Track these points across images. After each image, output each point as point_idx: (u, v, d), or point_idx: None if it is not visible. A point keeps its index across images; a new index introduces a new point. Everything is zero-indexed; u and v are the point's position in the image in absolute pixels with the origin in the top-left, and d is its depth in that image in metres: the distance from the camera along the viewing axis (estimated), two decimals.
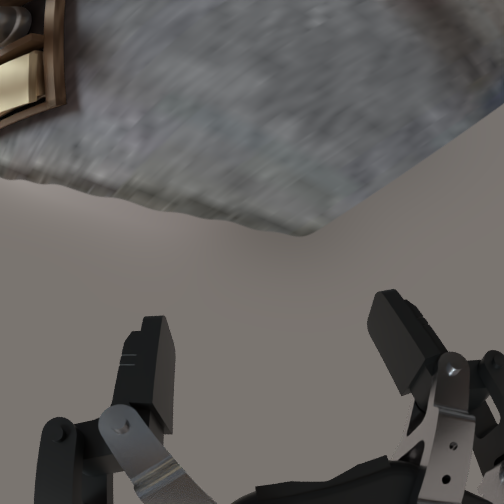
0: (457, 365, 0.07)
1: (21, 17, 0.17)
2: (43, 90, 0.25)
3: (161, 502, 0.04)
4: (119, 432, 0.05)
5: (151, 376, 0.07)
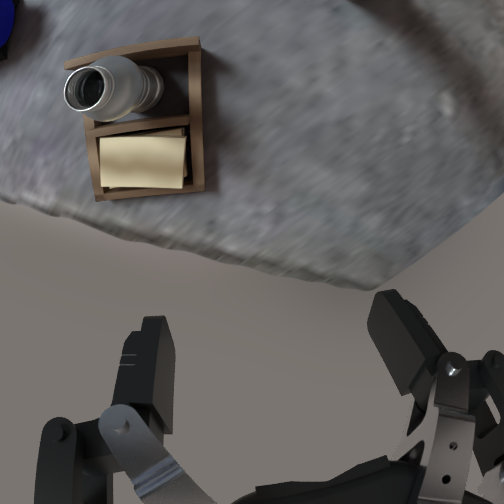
0: (457, 365, 0.07)
1: (160, 86, 0.30)
2: (186, 170, 0.38)
3: (161, 502, 0.04)
4: (119, 432, 0.05)
5: (151, 376, 0.07)
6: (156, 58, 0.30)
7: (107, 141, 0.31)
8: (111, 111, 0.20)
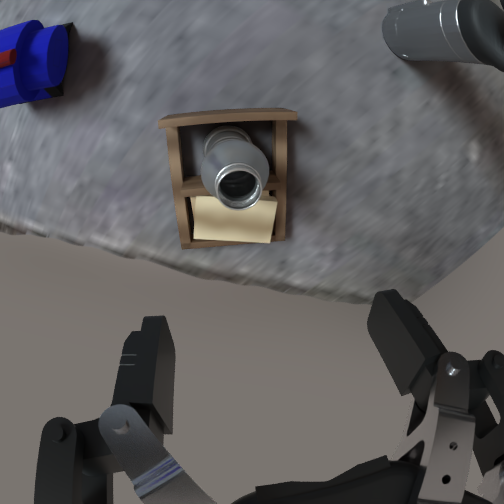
0: (457, 365, 0.07)
1: None
2: None
3: (161, 502, 0.04)
4: (119, 432, 0.05)
5: (151, 376, 0.07)
6: None
7: (203, 199, 0.38)
8: None
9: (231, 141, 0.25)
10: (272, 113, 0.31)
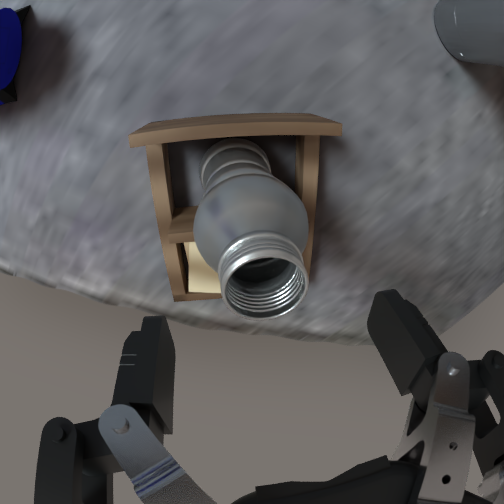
0: (457, 365, 0.07)
1: None
2: None
3: (161, 502, 0.04)
4: (119, 432, 0.05)
5: (151, 376, 0.07)
6: None
7: None
8: (270, 278, 0.16)
9: (246, 179, 0.15)
10: (305, 124, 0.20)
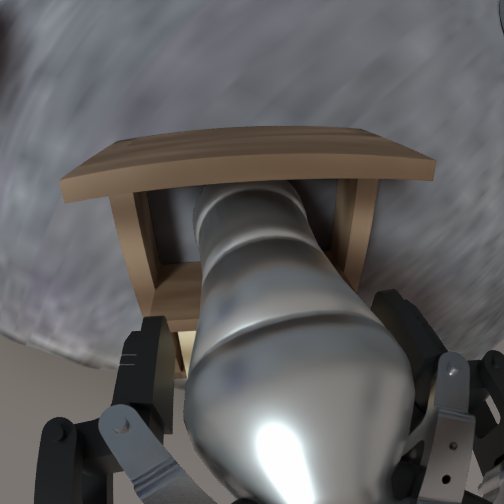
0: (457, 365, 0.07)
1: None
2: None
3: (161, 502, 0.04)
4: (119, 432, 0.05)
5: (151, 376, 0.07)
6: None
7: None
8: None
9: (312, 355, 0.05)
10: (385, 160, 0.11)
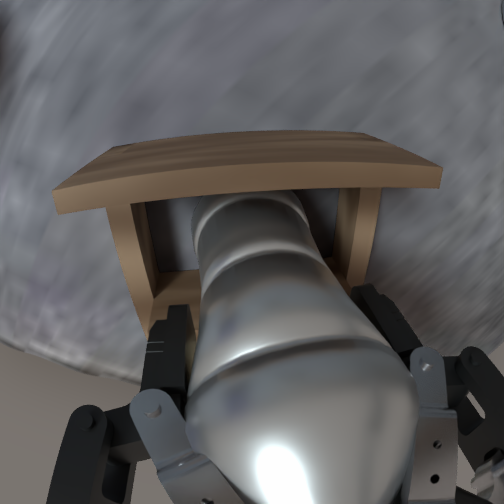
0: (430, 360, 0.07)
1: None
2: None
3: (183, 489, 0.04)
4: (152, 416, 0.06)
5: (181, 361, 0.08)
6: None
7: None
8: None
9: (317, 386, 0.05)
10: (391, 168, 0.10)
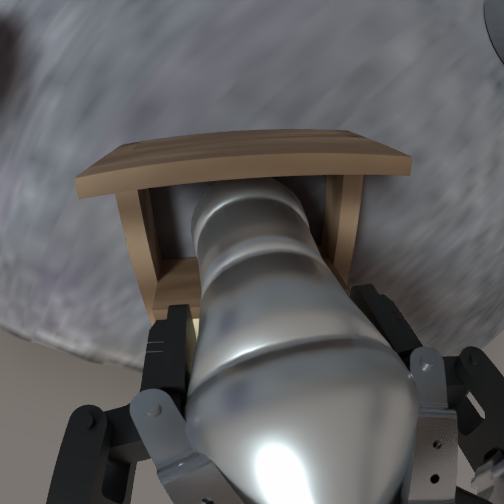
0: (430, 360, 0.07)
1: None
2: None
3: (182, 489, 0.04)
4: (152, 416, 0.06)
5: (181, 361, 0.08)
6: None
7: (195, 319, 0.19)
8: None
9: (317, 385, 0.05)
10: (363, 158, 0.12)
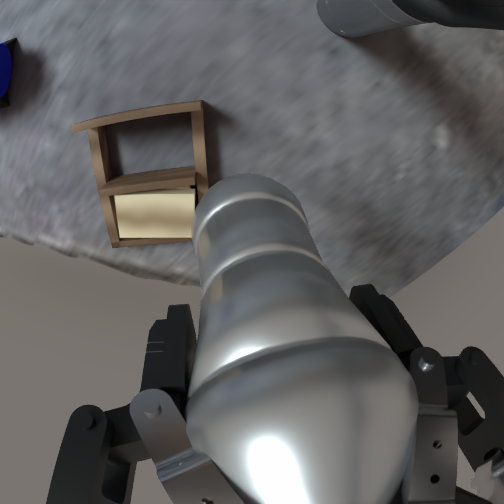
0: (430, 360, 0.07)
1: None
2: None
3: (183, 489, 0.04)
4: (152, 416, 0.06)
5: (181, 361, 0.08)
6: None
7: (122, 198, 0.36)
8: None
9: (316, 387, 0.05)
10: (174, 106, 0.28)
